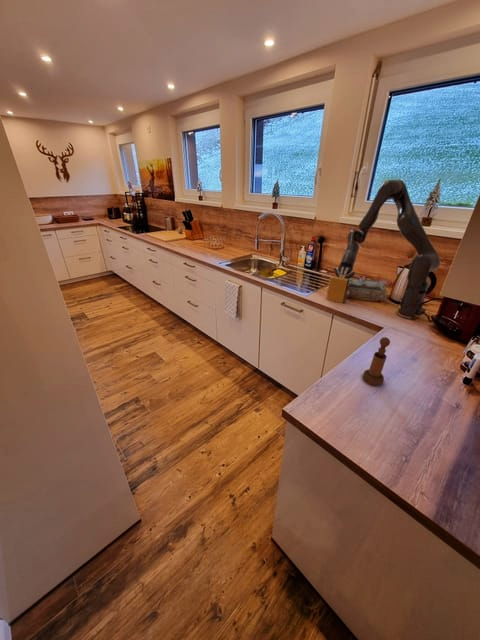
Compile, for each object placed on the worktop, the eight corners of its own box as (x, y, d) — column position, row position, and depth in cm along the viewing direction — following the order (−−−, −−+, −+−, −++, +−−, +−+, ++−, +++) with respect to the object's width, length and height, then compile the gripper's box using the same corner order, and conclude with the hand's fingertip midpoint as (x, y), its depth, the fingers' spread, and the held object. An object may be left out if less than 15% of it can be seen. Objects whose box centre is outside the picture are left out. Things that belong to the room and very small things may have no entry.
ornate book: (337, 299, 160) (392, 304, 152) (340, 284, 156) (396, 289, 148) (337, 286, 179) (385, 290, 171) (339, 273, 175) (389, 276, 166)
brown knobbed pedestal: (365, 385, 93) (378, 342, 84) (360, 373, 99) (372, 332, 90) (384, 387, 92) (400, 344, 83) (379, 375, 98) (393, 334, 89)
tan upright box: (344, 301, 156) (349, 279, 149) (343, 303, 153) (348, 280, 147) (327, 297, 160) (331, 275, 154) (326, 299, 158) (330, 277, 151)
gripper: (337, 254, 159) (328, 279, 155) (360, 257, 152) (351, 283, 149) (337, 261, 165) (329, 285, 162) (360, 264, 159) (351, 289, 156)
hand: (339, 284), depth 156 cm, fingers closed
